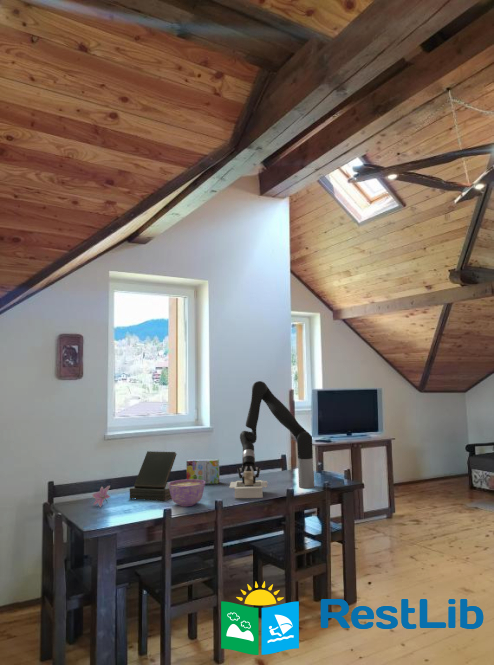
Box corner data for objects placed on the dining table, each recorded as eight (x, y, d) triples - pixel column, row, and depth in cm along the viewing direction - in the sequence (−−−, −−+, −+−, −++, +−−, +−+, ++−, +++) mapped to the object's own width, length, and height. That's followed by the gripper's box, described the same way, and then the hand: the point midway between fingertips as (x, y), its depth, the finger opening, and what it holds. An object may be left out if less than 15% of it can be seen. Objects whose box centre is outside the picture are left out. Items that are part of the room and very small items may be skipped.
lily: (92, 504, 266) (86, 491, 263) (111, 493, 272) (106, 480, 268) (98, 515, 257) (93, 501, 253) (118, 504, 262) (113, 490, 259)
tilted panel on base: (129, 499, 273) (129, 455, 276) (147, 492, 292) (147, 450, 295) (164, 501, 266) (164, 455, 269) (181, 494, 284) (180, 451, 287)
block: (253, 490, 278) (252, 470, 279) (253, 491, 273) (252, 472, 274) (245, 490, 278) (244, 471, 279) (244, 492, 273) (244, 472, 274)
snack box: (219, 482, 315) (219, 458, 317) (218, 483, 310) (217, 460, 311) (188, 482, 317) (187, 459, 319) (186, 484, 312) (186, 460, 314)
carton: (267, 490, 286) (267, 480, 286) (268, 498, 264) (267, 487, 265) (231, 491, 286) (231, 481, 287) (229, 499, 265) (229, 488, 265)
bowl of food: (160, 505, 255) (160, 483, 256) (188, 498, 270) (188, 477, 271) (185, 511, 242) (185, 488, 243) (213, 503, 257) (213, 481, 258)
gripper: (236, 455, 285) (236, 480, 272) (260, 454, 285) (261, 479, 272) (237, 463, 290) (237, 487, 277) (260, 462, 290) (261, 486, 276)
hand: (249, 483), depth 274 cm, fingers closed on block, 5 cm apart
